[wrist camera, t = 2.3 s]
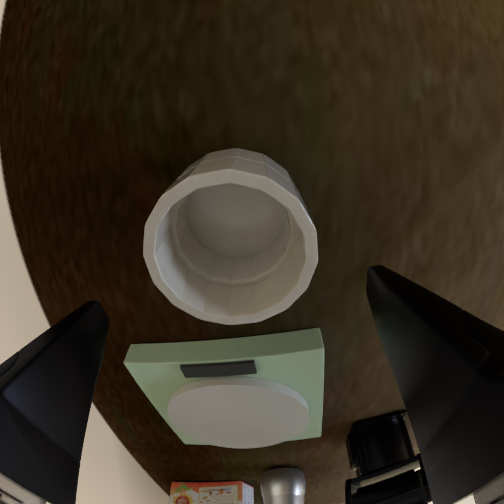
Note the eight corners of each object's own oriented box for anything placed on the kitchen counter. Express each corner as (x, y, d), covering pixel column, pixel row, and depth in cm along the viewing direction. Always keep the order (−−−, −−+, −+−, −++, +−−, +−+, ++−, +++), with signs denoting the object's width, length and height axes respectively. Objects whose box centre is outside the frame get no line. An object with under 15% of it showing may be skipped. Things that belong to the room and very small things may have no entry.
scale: (319, 326, 19) (326, 357, 17) (318, 420, 26) (322, 443, 24) (130, 343, 20) (119, 371, 18) (186, 429, 27) (183, 450, 25)
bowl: (291, 138, 13) (310, 157, 9) (304, 256, 17) (320, 314, 12) (160, 161, 14) (121, 191, 10) (191, 271, 17) (172, 330, 13)
